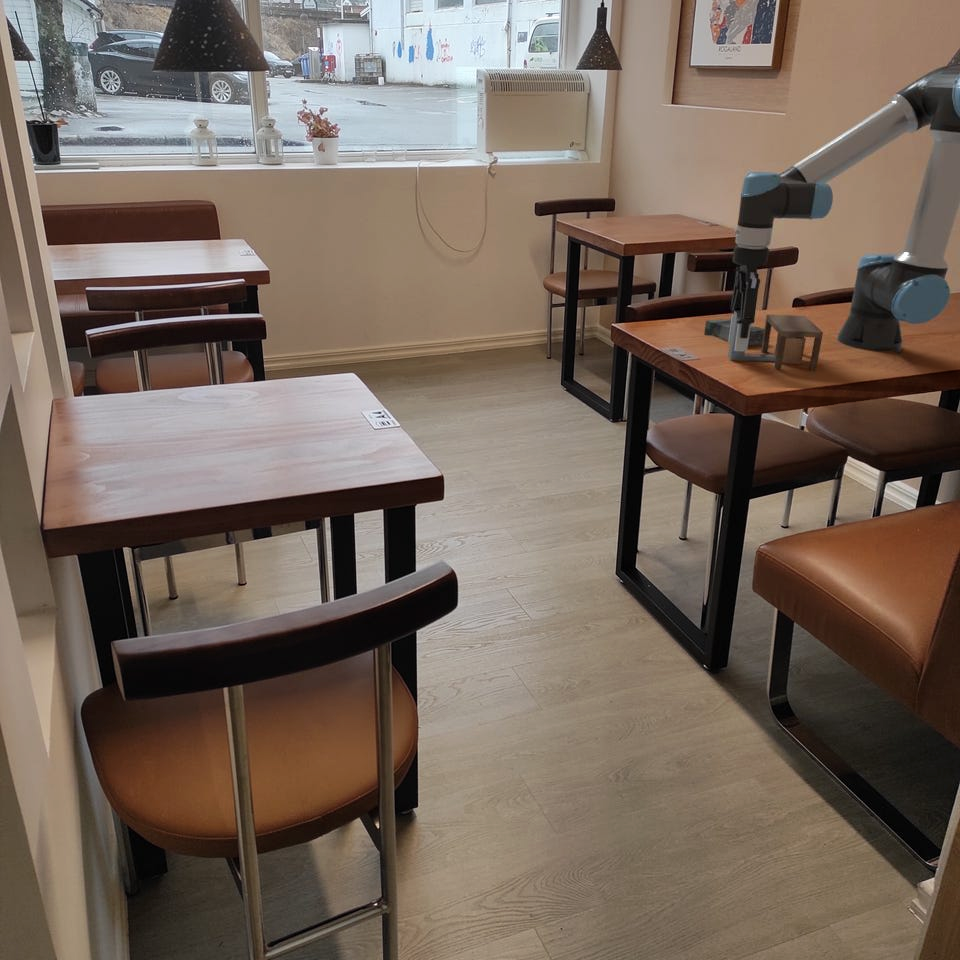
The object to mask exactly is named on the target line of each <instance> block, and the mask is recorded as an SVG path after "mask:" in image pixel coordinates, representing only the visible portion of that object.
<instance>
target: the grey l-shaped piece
mask: <svg viewBox="0 0 960 960" xmlns="http://www.w3.org/2000/svg"><path fill="white" fill-rule="evenodd" d="M740 313H741V311H735V310H734V314H733V315H734V317H733V324H732V331H731V339H730V343H729V348H728V355H727V357H728V359H729V360H730V361H740V362H741V361H742V362H743V361H746V362H747V361H749V362H751V361H752V362H772V363H773V362H774V363H775V361H776V355H777V349H778V343H779V336H780V334H779V333H778V332H777V338H776V344H775V350H774V354H768V353H745V351H735V350H734V349H735V342H736V335H737V328H738V324H737V321H740ZM747 318H749V317H747ZM806 339H807V338H806V337H791V336H787V337H786V343H785V349H784V355H783V361H782V365H783V364H786V365H788V364H789V365H790V364H791V365H802V363H803V357H804V350H805V345H806Z"/></svg>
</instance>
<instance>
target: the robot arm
mask: <svg viewBox="0 0 960 960" xmlns="http://www.w3.org/2000/svg"><path fill="white" fill-rule="evenodd" d="M929 125H930V127H929V128H928V129H929V130H928V131H929V133H930V135H931V136H932V138H933V143H932V147H931V150H930V153H929V157H928V161H927V164H926V169H925V171H924V175H923V179H922V183H921V186H920V190H919V194H918V196H917V198H916V199H917V200H916V204H915V207H914V211H913V215H912V218H911V221H910V225H909V227H908V232H907V234H906V235H907V236H906V238H905V242H904V246H903V249H902V251H901V252H900V253H897V254H893V253H889V254H888V253H867V254H865V255H863V256H862V257H861V258H860V260H859V264H858V267H857V273H856V278H855V282H854V283H855V284H854V289H853V293H852V299H851V304H850V311H849V314H848V316H847V318H846V320H845V321H844V323H843V324H842V327H841V329H840V331H839V332H838V335H837V339H836V340H837V341H838V342H839V343H840V344H842V345H845V346H848V347H851V348H855V349H860V350H866V351H876V352H877V351H878V352H879V351H880V352H882V351H883V352H889V351H893V352H895V354H900V352H901V350H902V347H903V336H902V329H901V322H903V323H904V322H906V323H908V324H913V325H919V324H925V323H927V322H930V321H932V320H933V319H934V318H937V317H938V316H939V315H940V314H941V313H943V311H944V310H945V308H946V307H947V304H948V303H949V300H950V298H951V297H950V296H951V289H950V286H949V285H948V282H947V280H946V275H947V272H948V270H949V264H948V263H947V261H946V259H945V258H944V256H945V253H946V250H947V246H948V243H949V240H950V236H951V233H952V230H953V227H954V223H955V221H956V217H957V213H958V211H959V208H960V65H959V64H949V65H948V64H947V65H945V66H941V67H938V68H935V69H934V70H931V71H930V72H927V73H926V74H924V75H923V76H921V77H919V78H918V79H915V81H913V82H911V83H910V84H908V85H907V86H905V87H904V88H902V89H901V90H899V91H898V92H896V93H894V94H893V95H892V96H891V97H890V100H889V103H888V104H886V105H884V106H883V107H882V108H880V109H878V110H877V111H875V112H873V113H872V114H870V115H869V116H867V117H866V118H865V119H863V120H861V121H860V122H857V124H855V125H854V126H852V127H850V128H849V129H848V130H846V131H844V132H843V133H842V134H840V135H838V136H836V137H835V138H834V139H832V140H831V141H829V142H828V143H826V144H825V145H822V146H821V147H819V148H818V149H817V150H815V151H813V152H812V153H811V154H809V155H808V156H806V157H805V158H803V159H802V160H800V161H798V162H797V163H795V164H794V165H792V166H790V167H789V168H787V169H786V170H784V171H782V172H781V173H777V172H769V171H767V172H766V171H751V172H748V173H746V174H745V176H744V179H743V183H742V188H741V192H740V203H739V211H738V221H737V226H736V228H737V229H734V230H733V234H734V235H735V244H736V245H734V248H733V253H732V255H733V256H732V262H733V263H734V264H736V265H739V266H737V267H736V268H735V279H734V286H733V290H732V295H731V296H732V297H731V298H732V299H731V303H730V310H731V318H730V319H731V326H730V333H729V340H728V341H727V342H728V344H730V339H731V331H732V324H733V317H734V310H735V311H741V313H740V321H737V324H738V328H737V335H736V342H735V349H734V350H735V351H745V352H747V351H748V347H749V346H748V341H749V334H750V328H751V325H752V324H754V323H755V319H756V310H757V303H758V294H759V287H760V284H761V279H760V278H759V273H758V268H759V267H763V266H765V265H767V263H768V259H769V253H770V249H769V246H770V245H771V242H772V237H773V236H772V235H773V226H774V220H775V219H798V220H799V219H800V220H801V219H803V220H804V219H805V220H811V221H812V220H814V219H816V220H817V219H819V220H820V219H824V218H825V217H827V215H828V214H829V213H830V211H831V209H832V206H833V202H834V201H833V198H834V195H833V193H834V192H833V189H832V187H831V185H830V184H828V183H829V182H831V180H833V179H835V178H837V177H838V176H840V175H842V174H843V173H844V172H846V171H848V170H849V169H850V168H852V167H853V166H855V165H857V164H858V163H860V162H862V161H863V160H865V159H867V158H868V157H869V156H871V155H872V154H874V153H876V152H878V151H879V150H880V149H882V148H883V147H885V146H886V145H888V144H890V143H891V142H893V141H894V140H896V139H898V138H899V137H901V136H902V135H904V134H905V133H907V134H914V133H916V132H917V131H919V130H920V129H922V128H924V127H926V126H929ZM747 317H749V318H747Z"/></svg>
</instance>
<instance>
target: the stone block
mask: <svg viewBox="0 0 960 960" xmlns="http://www.w3.org/2000/svg"><path fill="white" fill-rule="evenodd" d="M731 319H732V318H720V319H719V318H718V319H709V320H705V326H704V331H703V332H704V335H703V336H711V337H712V336H713V337H715V338H718V339H719V340H723V341H725V342H728V340H729V333H730V326H731ZM764 329H765V328H763V327H759V326H757V325H756V326H755V325H752V324H751V328H750V334H749V341H748V347H750V346H758V345H762V341H763V335H764Z"/></svg>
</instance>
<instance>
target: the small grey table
mask: <svg viewBox="0 0 960 960" xmlns="http://www.w3.org/2000/svg"><path fill="white" fill-rule="evenodd" d="M772 328H773V329H774V330H775V331H776V332H777V334H778V333H779V334H780V336H779V343H778V349H777V355H776V361H775V362H774V370H780V371H781V370H782V366H783V363H782V361H783V355H784V349H785V343H786V337H787V336H791V337H804V338H814V340H813V345H812V352H811V357H810V360H809V361H810V362H809V368H808V370H809V371H810V372H817V367H818V362H819V356H820V351H821V345H822V339H823V334H824V332H823V331H822V330H821V328H819V327H818V326H817V325H816V324H815V323H813V322H812V321H811V319H809V318H808V317H807V316H806V315H793V314H792V315H790V314H789V315H788V314H787V315H786V314H766V317H765V324H764V328H763V329H764V335H763V341H762V344H761V349H760V352H761V354H768V350H769V343H770V337H771V330H772Z"/></svg>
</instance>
